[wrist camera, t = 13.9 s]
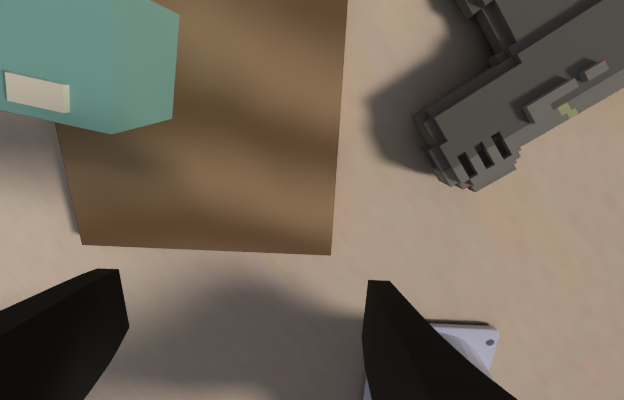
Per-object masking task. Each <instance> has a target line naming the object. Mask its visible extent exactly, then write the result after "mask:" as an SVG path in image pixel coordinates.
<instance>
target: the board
mask: <svg viewBox="0 0 624 400" xmlns="http://www.w3.org/2000/svg"><path fill="white" fill-rule="evenodd" d="M150 1H152V2H155V3H157V4H159V5H161V6H163V7H165V8H167V9H169V10H171V11H173V12H175V13H177V14H179V15H180V17H179V31H178V44H177V58H176V71H175V85H174V98H173V112H172V119H169V120H165V121H162V122H158V123H154V124H150V125H146V126H142V127H139V128H135V129H131V130H127V131H123V132H119V133H115V134H107V133H103V132H98V131H94V130H89V129H84V128H80V127H75V126H71V125H66V124H62V123H57V122H55V125H56V130H57V134H58V139H59V143H60V148H61V152H62V157H63V161H64V166H65V170H66V175H67V179H68V184H69V188H70V193H71V197H72V202H73V206H74V211H75V215H76V220H77V224H78V229H79V233H80V238H81V242H82V245H98V246H121V247H145V248H168V249H192V250H215V251H239V252H262V253H286V254H309V255H331V244H332V229H333V214H334V199H335V184H336V169H337V154H338V139H339V124H340V109H341V94H342V79H343V64H344V49H345V33H346V18H347V3H348V0H150Z"/></svg>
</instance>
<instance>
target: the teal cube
mask: <svg viewBox="0 0 624 400" xmlns="http://www.w3.org/2000/svg"><path fill="white" fill-rule="evenodd" d="M179 17H180V15H179V14H177V13H175V12H173V11H171V10H169V9H167V8H165V7H163V6H161V5H159V4H157V3H155V2H152V1H150V0H0V110H2V111H7V112H11V113H16V114H20V115H25V116H30V117H34V118H39V119H43V120H48V121H52V122H57V123H62V124H66V125H71V126H75V127H80V128H84V129H89V130H94V131H98V132H103V133H107V134H115V133H119V132H123V131H127V130H131V129H135V128H139V127H142V126H146V125H150V124H154V123H158V122H162V121H165V120H169V119H172V112H173V98H174V85H175V71H176V58H177V44H178V31H179Z"/></svg>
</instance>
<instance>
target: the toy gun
mask: <svg viewBox="0 0 624 400" xmlns="http://www.w3.org/2000/svg"><path fill="white" fill-rule="evenodd" d="M455 1H456V3H457V5H458V6H459V8H460V10H461V12H462V14H463V16H464V17H465V19H466V20H468V19H469V18H470V17H473V16H474V15H475V17H476V19H477V21H478V23H479V24H480V26H481V28H482V30H483V32H484V34H485V36H486V37H487V39H488V41H489V43H490V45H491V47H492V49H493V50H494V52H495V54H494V55H493V56H492V57H490V58H489V59H487V60H488V62H489V63H490V65H491V66H490V67H489V68H487V69H485V70H484V71H482V72H481V73H479V74H478V75H476V76H474V77H473V78H471V79H470V80H468V81H467V82H465V83H463V84H462V85H460V86H459V87H457V88H456V89H454V90H452V91H451V92H449V93H448V94H446V95H445V96H443V97H441V98H440V99H438V100H437V101H435V102H434V103H432V104H431V105H429V106H427V107H426V108H424V109H423V110H421V111H420V112H418V114H416V115H414V116H413V119H414V120H415V122H416V123H415V125H416V127H417V128H418V130H419V132H420V133H421V135H422V137H423V139H424V140H425V142H426V143H425V145H424V146H422V147H421V148H420V150H421V151H422V153H423V155H424V156H425V158H426V160H427V161H428V163H429V165H430V166H431V168H432V170H433V171H434V173H435V175H436V176H437V178H438V180H439V181H441V182H443V183H444V184H446V185H448V186H450V187H452V186H453V185H455V186H457V187H459V188H461V189H465V188H467V187H468V189H469V190H471V191H474V192H477V191H478V190H480V189H482V188H484V187H485V186H487V185H489V184H491V183H493V182H494V181H496V180H498V179H500V178H501V177H503V176H505V175H507V174H509V173H510V172H512V171H514V170H516V168H515V166H514V164H515V163H517V162H516V159H518V158H519V157H521V156H520V155H519V153H518V151H520V150H521V149H520V147H521V146H523V145H525V144H526V143H528V142H530V141H532V140H533V139H535V138H537V137H539V136H540V135H542V134H544V133H546V132H547V131H549V130H551V129H553V128H554V127H556V126H558V125H559V124H561V123H563V122H565V121H566V120H568V119H570V118H572V117H573V116H575V115H577V114H579V113H580V112H582V111H584V110H586V109H587V108H589V107H591V106H592V105H594V104H596V103H598V102H599V101H601V100H603V99H605V98H606V97H608V96H610V95H612V94H613V93H615V92H617V91H619V90H620V89H622V88H624V0H455Z"/></svg>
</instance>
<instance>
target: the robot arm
mask: <svg viewBox="0 0 624 400" xmlns="http://www.w3.org/2000/svg"><path fill="white" fill-rule="evenodd" d="M128 329H129V322H128V317H127V311H126V306H125V301H124V295H123V290H122V284H121V279H120V274H119V269H95V270H92V271H89V272H87V273H84V274H82V275H79V276H77V277H74V278H72V279H70V280H67V281H65V282H63V283H61V284H59V285H56V286H54V287H52V288H50V289H47V290H45V291H43V292H41V293H39V294H36V295H34V296H32V297H30V298H28V299H25V300H23V301H21V302H19V303H17V304H14V305H12V306H10V307H8V308H6V309H3V310H1V311H0V400H84V399H85V397H86V396H87V395H88V393H89V392H90V390H91V389H92V388H93V386H94V385H95V383H96V382H97V380H98V379H99V378H100V376H101V375H102V373H103V372H104V371H105V369H106V368H107V366H108V365H109V363H110V362H111V360H112V359H113V357H114V355H115V353H116V351H117V350H118V348H119V346H120V344H121V342H122V340H123V339H124V337H125V335H126V333H127V331H128ZM489 339H490V340H489ZM498 339H499V332H498V330H497V329H496V328H495V327H493V326H480V325H456V324H433V323H428V322H427V321H426V320H425V319H424V318H423V317H422V316H421V315H420V314H419V312H418V311H417V310H416V309H415V308H414V307H413V306H412V305H411V304H410V303H409V302H408V301H407V300H406V298H405V297H404V296H403V295H402V294H401V293H400V292H399V291H398V290H397V288H396V287H395V286H394V285H393V284H392V283H391V282H390V281H379V280H368V287H367V296H366V305H365V313H364V322H363V331H362V344H363V354H364V363H365V371H366V379H365V387H364V395H363V400H517V399H516V398H515V397H513V396H512V395H511V394H509V393H508V392H507V391H505V390H504V389H503V388H502V387H500V386H499V385H498V384H497V383H495V381H494V380H493V378H492V376H491V374H490V373H489V370H490V366H491V363H492V359H493V356H494V353H495V349H496V346H497V342H498ZM487 340H489V341H487Z"/></svg>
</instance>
